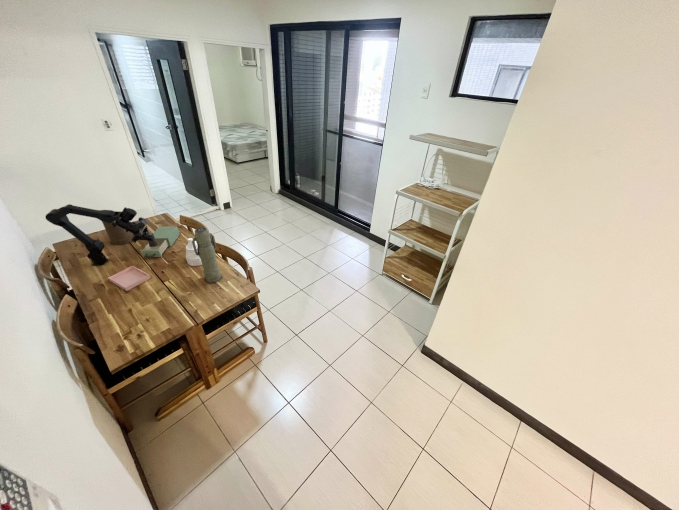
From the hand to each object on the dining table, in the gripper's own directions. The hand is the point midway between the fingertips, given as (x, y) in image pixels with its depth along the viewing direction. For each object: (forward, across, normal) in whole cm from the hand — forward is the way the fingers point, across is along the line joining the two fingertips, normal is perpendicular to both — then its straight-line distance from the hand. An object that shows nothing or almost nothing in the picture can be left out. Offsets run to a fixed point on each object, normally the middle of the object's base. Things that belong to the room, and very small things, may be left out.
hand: (153, 238), depth 180 cm
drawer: (+7, +3, +10) cm, 13 cm away
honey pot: (+27, -13, -8) cm, 31 cm away
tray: (+1, -24, +18) cm, 30 cm away
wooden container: (-10, +28, +29) cm, 42 cm away
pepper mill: (+3, 0, +5) cm, 5 cm away
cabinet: (+10, +20, +8) cm, 24 cm away
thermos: (+34, -36, -16) cm, 52 cm away
